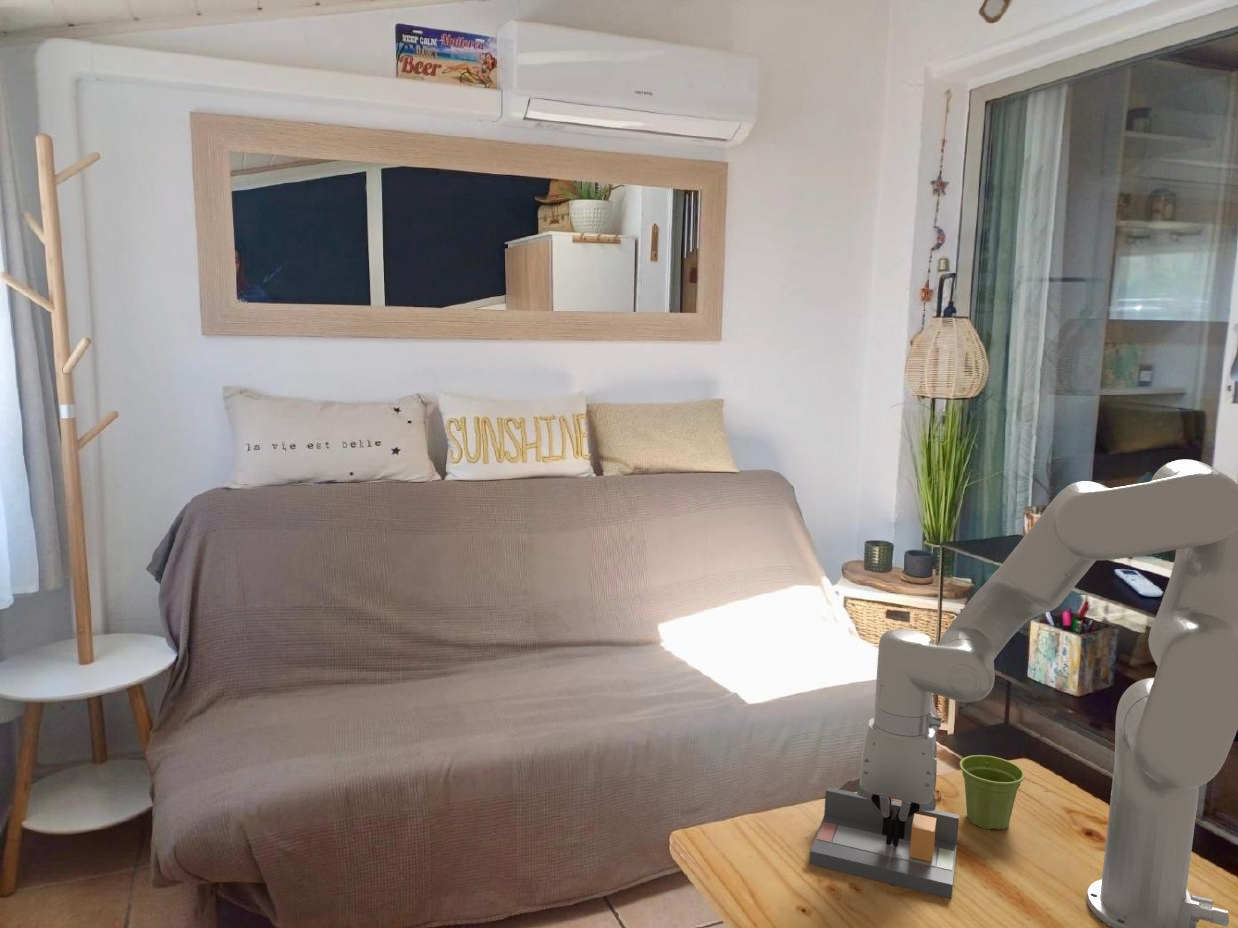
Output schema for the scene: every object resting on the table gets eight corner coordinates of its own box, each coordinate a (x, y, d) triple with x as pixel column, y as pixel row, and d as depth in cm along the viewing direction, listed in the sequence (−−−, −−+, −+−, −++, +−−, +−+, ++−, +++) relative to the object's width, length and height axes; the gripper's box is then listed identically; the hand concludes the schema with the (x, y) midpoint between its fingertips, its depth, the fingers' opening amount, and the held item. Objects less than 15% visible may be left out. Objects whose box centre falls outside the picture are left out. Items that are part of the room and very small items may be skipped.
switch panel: (956, 852, 134) (959, 814, 133) (951, 898, 123) (954, 856, 122) (824, 823, 141) (827, 786, 140) (809, 863, 130) (811, 824, 129)
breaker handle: (934, 847, 131) (936, 817, 130) (932, 861, 127) (934, 831, 127) (912, 842, 132) (914, 813, 132) (909, 856, 129) (911, 826, 128)
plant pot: (944, 818, 144) (948, 766, 142) (973, 799, 150) (977, 748, 149) (1002, 843, 137) (1007, 789, 136) (1030, 822, 143) (1035, 770, 142)
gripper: (959, 718, 129) (949, 840, 132) (851, 700, 135) (844, 816, 138) (957, 739, 122) (946, 867, 125) (843, 719, 128) (835, 841, 131)
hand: (892, 840), depth 131 cm, fingers closed
